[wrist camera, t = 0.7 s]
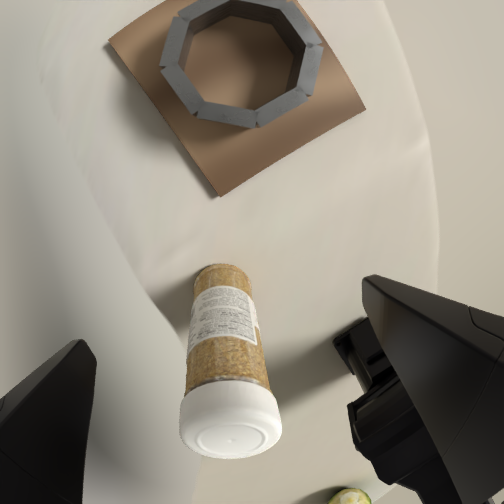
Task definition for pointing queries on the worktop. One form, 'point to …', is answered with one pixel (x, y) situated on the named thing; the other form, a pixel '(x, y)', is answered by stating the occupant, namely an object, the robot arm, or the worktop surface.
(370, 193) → the worktop surface
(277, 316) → the worktop surface
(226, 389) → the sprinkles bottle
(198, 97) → the socket collar
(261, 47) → the socket board
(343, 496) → the lettuce
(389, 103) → the worktop surface
